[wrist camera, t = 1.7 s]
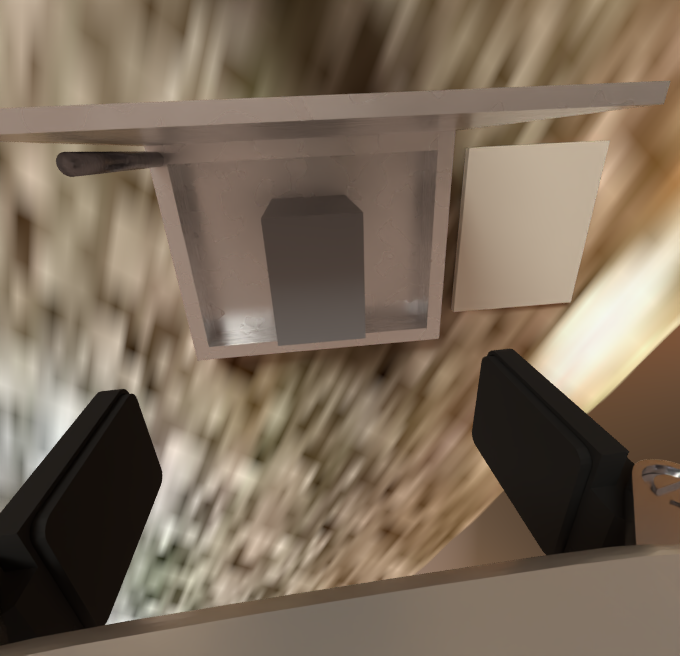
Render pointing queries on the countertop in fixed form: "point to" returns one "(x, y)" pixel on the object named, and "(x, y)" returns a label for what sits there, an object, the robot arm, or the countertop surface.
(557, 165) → the flat beige panel
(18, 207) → the countertop surface
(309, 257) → the block
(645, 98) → the case
